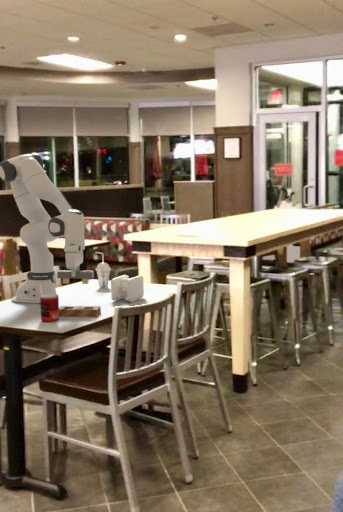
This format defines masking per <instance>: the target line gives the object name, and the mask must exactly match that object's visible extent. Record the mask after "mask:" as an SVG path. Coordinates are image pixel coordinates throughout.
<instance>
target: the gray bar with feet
mask: <svg viewBox="0 0 343 512" xmlns="http://www.w3.org/2000/svg"><path fill="white" fill-rule="evenodd" d="M56 272H57V273H56V276H57V277H56V278H57V279H62V284H63V285H64V284H69V283H70V279H77V280H78V279H82V280H81V281H82V282H81V284H82V285H88V284H89V281H90V280H91V279H93V278H95V271H94V270H90V269H89V270H88V269H86V270H81V269H79V270H76V277H72V273H71V269H68V270H67V269H64V270H63V269H59V270H57V271H56Z"/></svg>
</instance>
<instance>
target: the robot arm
mask: <svg viewBox="0 0 343 512" xmlns="http://www.w3.org/2000/svg"><path fill="white" fill-rule="evenodd" d="M0 178H1V180H2V181H4V182H5V183H10V188H11V192H12V195H13V198H14V201H15V203H16V206H17V208H18V211H19V212H20V215H22V216H23V217H24V218H25V219H26V220H27V221H28V223H27V224H24V225H23V226H22V227H21V228H20V230H19V236H20V239H21V241H22V242H23V243H24V244H25V246H26V247H27V250H28V252H29V253H28V254H29V261H30V271H28V272H27V274H26V278H27V279H26V280H25V281H24V282H22V283H21V284H20V285H19V286H18V287H17V288H16V291H15V296H13V297H12V298H11V302H12V303H28V304H29V303H31V304H40V296H41V295H43V294H57V295H58V293H57V290H56V284H55V282H56V271H55V269H54V268H55V267H54V266H55V265H54V255H53V253H52V252H51V251H50V250H49V246H48V243H51V242H53V241H55V240H57V239H58V238H63V237H64V247H63V252H65V267H66V270H67V269H68V270H71V273H72V277H76V270H80V266H81V264H84V263H83V262H84V250H86V246H85V245H86V243H85V241H86V239H85V238H86V237H85V234H84V233H85V230H86V229H85V228H86V227H85V226H86V225H85V215H84V213H83V211H81V210H78V209H75V208H73V206H72V205H71V203H70V201H68V200H69V199H67V198H66V196H65V195H64V194H63V192H62V191H61V190H60V189H59V188H58V187H57V186H56V185H55V184H54V183H53V182H52V181H51V179H50V177H49V176H48V175H47V173H46V170H44V162H43V158H42V157H41V155H40V154H39V153H37V152H29V153H25V154H20V155H17V156H15V157H11V158H9V159H4V160H3V161H0ZM41 200H44V201H46V202H49V203H51V204H53V205H54V206H55V207H56V208H57V210H58V212H59V213H60V215H57V216H54V217H51V216H50V215H49V213H48V211H47V210H46V209H45V207H44V206H43V204H42V202H41Z"/></svg>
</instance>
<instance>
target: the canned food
mask: <svg viewBox="0 0 343 512" xmlns="http://www.w3.org/2000/svg"><path fill="white" fill-rule="evenodd" d="M59 300H60V299H59V294H58V293H57V294H43V295H41V296H40V303H39V304H40V320H41V322H43V323H56V322H59V320H60V316H59V307H60V306H59V304H60V303H59Z"/></svg>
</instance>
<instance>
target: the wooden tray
mask: <svg viewBox="0 0 343 512" xmlns="http://www.w3.org/2000/svg"><path fill="white" fill-rule="evenodd" d="M101 308H102V307H101V306H100V305H60V306H59V317H79V318H80V317H81V318H82V317H83V318H85V317H89V318H91V317H95V318H97V317H98V316H99V315H100V314H101V311H102V310H101Z"/></svg>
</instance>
